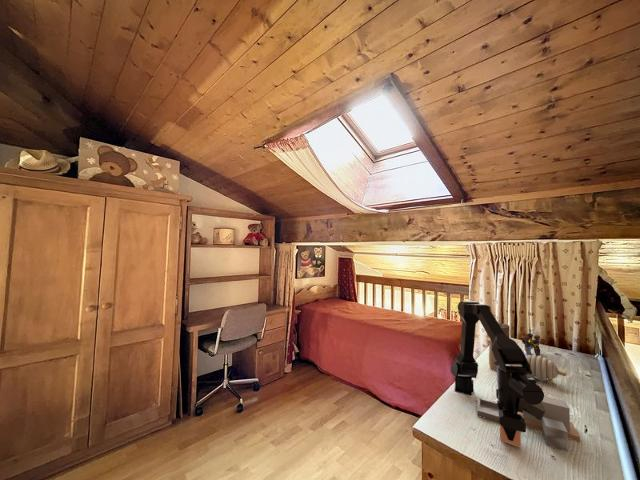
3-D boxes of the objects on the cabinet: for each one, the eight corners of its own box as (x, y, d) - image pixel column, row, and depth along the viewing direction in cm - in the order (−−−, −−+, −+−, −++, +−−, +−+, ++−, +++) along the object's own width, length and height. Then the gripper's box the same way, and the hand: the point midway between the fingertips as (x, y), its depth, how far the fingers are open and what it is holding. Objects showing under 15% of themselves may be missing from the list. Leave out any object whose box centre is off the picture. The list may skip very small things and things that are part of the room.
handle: (486, 369, 129) (486, 339, 129) (489, 365, 134) (488, 336, 134) (498, 372, 126) (497, 342, 126) (500, 368, 130) (499, 338, 131)
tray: (477, 415, 94) (477, 410, 94) (477, 402, 102) (477, 397, 102) (509, 425, 88) (509, 419, 89) (507, 410, 97) (507, 405, 97)
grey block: (546, 445, 80) (545, 425, 80) (542, 435, 84) (542, 416, 84) (567, 452, 77) (567, 431, 77) (563, 441, 82) (562, 422, 82)
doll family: (545, 367, 131) (544, 341, 132) (522, 363, 137) (522, 337, 137) (540, 352, 150) (539, 329, 150) (520, 349, 155) (520, 327, 156)
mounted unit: (516, 423, 90) (516, 397, 90) (514, 410, 96) (513, 386, 97) (580, 441, 81) (579, 413, 81) (572, 426, 88) (571, 400, 88)
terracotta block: (500, 440, 80) (500, 421, 80) (499, 431, 85) (499, 412, 85) (520, 447, 78) (520, 427, 78) (518, 437, 82) (518, 418, 82)
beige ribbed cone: (519, 370, 128) (519, 348, 128) (566, 382, 117) (565, 358, 117) (516, 378, 120) (516, 354, 121) (566, 392, 109) (566, 366, 109)
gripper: (549, 409, 69) (550, 468, 69) (536, 379, 85) (537, 427, 85) (499, 396, 75) (500, 450, 75) (495, 370, 91) (496, 415, 91)
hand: (509, 434), depth 81 cm, fingers closed on terracotta block, 5 cm apart
